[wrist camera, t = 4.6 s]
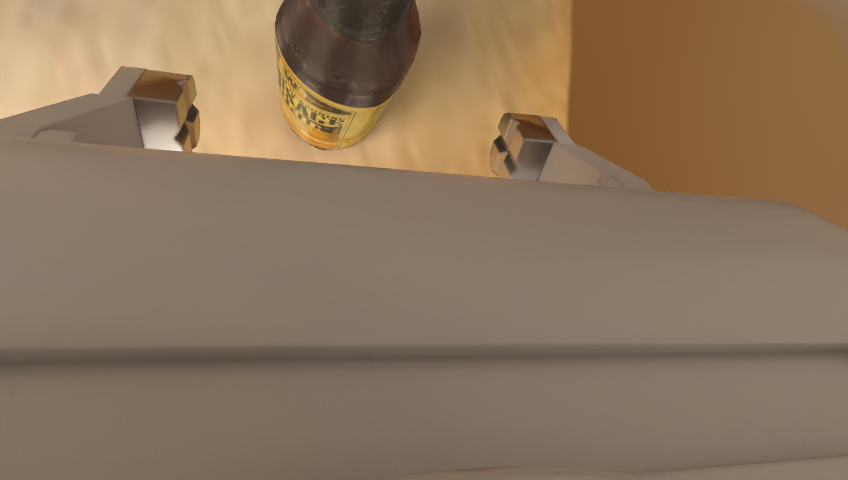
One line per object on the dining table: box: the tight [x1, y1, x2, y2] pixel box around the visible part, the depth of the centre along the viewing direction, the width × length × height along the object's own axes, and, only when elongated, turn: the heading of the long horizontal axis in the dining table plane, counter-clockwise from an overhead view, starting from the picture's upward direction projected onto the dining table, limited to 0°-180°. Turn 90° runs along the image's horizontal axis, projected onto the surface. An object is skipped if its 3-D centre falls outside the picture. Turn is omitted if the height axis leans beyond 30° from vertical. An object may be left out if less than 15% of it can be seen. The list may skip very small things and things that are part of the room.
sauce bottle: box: [275, 0, 421, 150], centre depth 23 cm, size 7×6×20 cm
